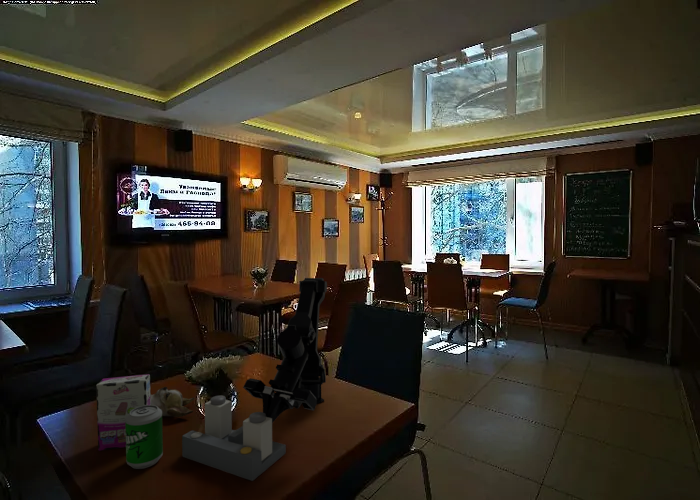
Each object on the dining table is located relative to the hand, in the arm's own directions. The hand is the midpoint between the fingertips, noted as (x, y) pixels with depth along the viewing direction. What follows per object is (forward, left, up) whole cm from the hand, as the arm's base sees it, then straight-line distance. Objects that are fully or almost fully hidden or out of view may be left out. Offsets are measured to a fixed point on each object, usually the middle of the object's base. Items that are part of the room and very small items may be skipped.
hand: (264, 428), depth 91 cm
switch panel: (+5, -6, -7) cm, 11 cm away
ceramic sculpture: (+12, -39, -8) cm, 41 cm away
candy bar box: (+24, -29, -7) cm, 38 cm away
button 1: (+6, -14, -5) cm, 16 cm away
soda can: (+22, -17, -7) cm, 28 cm away
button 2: (+2, +1, -5) cm, 5 cm away
